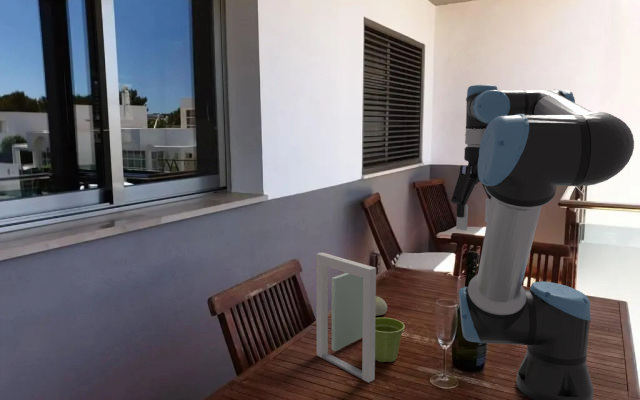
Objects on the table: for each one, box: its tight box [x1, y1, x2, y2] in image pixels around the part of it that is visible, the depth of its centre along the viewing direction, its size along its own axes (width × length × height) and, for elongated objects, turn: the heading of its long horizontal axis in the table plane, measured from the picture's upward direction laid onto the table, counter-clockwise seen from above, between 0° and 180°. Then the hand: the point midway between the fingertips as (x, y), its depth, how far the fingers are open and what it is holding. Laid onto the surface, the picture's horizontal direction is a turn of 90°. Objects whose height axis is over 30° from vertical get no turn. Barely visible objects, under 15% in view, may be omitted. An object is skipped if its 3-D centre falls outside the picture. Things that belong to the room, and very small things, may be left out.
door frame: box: [315, 252, 377, 383], centre depth 118 cm, size 18×2×26 cm, turn 41°
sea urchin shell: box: [375, 295, 388, 317], centre depth 155 cm, size 9×8×8 cm
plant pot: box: [375, 317, 406, 363], centre depth 124 cm, size 9×9×9 cm
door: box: [331, 272, 363, 352], centre depth 131 cm, size 13×3×19 cm, turn 137°
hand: (476, 226), depth 133 cm, fingers open, 13 cm apart
